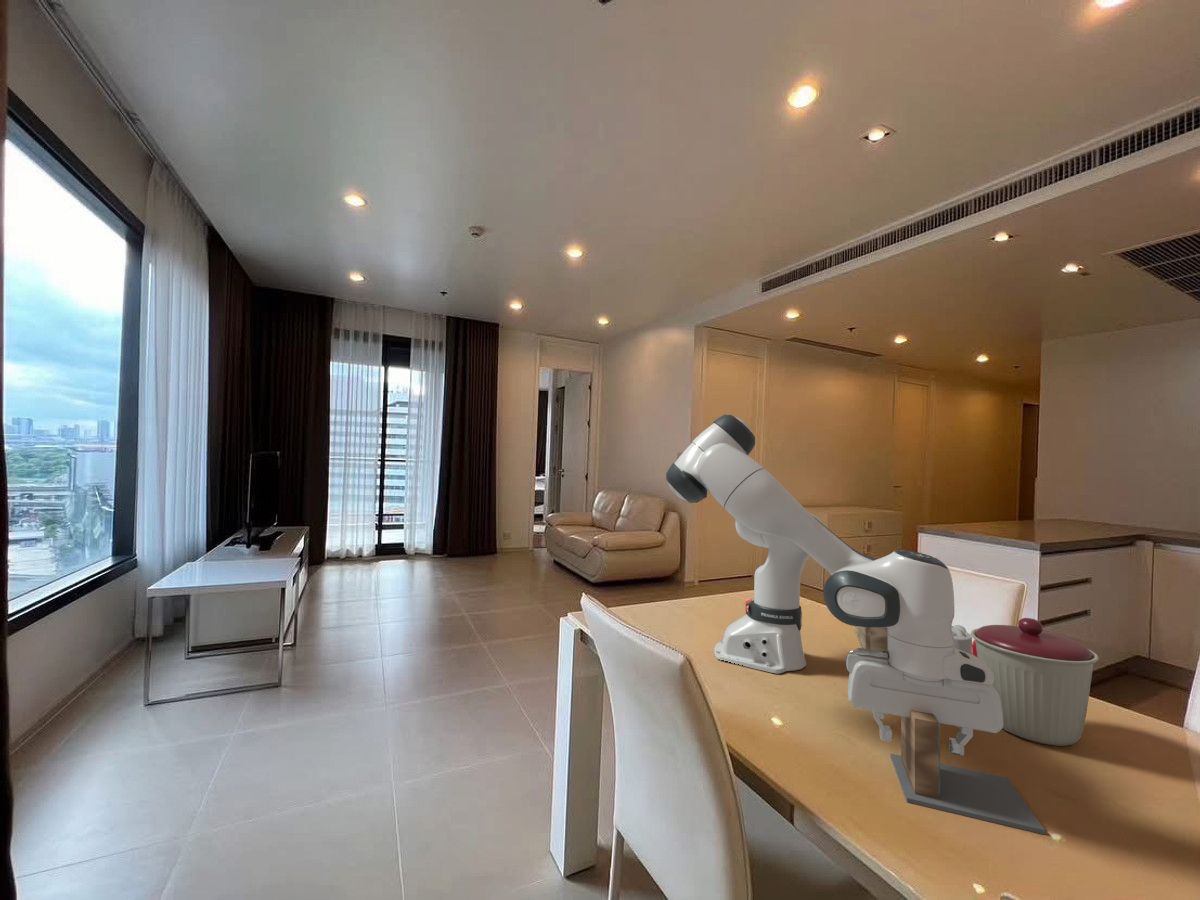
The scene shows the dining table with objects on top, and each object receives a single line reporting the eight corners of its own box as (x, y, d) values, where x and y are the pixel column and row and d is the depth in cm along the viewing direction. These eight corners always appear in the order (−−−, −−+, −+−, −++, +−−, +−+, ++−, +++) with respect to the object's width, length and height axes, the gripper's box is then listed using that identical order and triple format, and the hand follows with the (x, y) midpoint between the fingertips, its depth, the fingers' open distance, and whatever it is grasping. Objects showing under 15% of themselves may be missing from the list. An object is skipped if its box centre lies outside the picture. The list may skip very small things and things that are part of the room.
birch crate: (866, 657, 126) (866, 611, 126) (854, 631, 146) (855, 592, 147) (919, 665, 122) (919, 617, 122) (900, 637, 142) (900, 596, 143)
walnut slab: (914, 793, 71) (914, 718, 72) (901, 760, 80) (901, 692, 80) (940, 799, 70) (940, 722, 70) (924, 765, 78) (924, 696, 79)
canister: (1068, 769, 79) (1066, 640, 80) (951, 716, 96) (950, 609, 97) (1120, 746, 86) (1118, 628, 87) (1003, 701, 103) (1002, 602, 104)
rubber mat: (906, 802, 70) (906, 797, 70) (890, 757, 81) (890, 753, 81) (1045, 834, 64) (1045, 830, 64) (1007, 781, 76) (1007, 777, 76)
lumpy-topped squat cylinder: (949, 650, 133) (949, 618, 134) (984, 669, 120) (984, 634, 121) (911, 648, 134) (911, 616, 134) (942, 667, 121) (941, 632, 121)
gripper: (848, 652, 76) (848, 741, 76) (1007, 675, 69) (1008, 774, 68) (844, 639, 82) (843, 722, 82) (990, 659, 75) (991, 750, 74)
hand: (920, 746), depth 75 cm, fingers open, 8 cm apart
